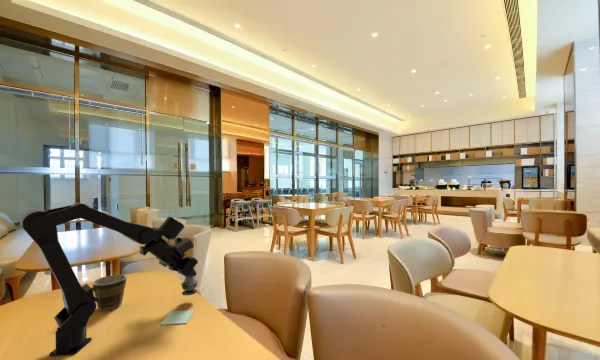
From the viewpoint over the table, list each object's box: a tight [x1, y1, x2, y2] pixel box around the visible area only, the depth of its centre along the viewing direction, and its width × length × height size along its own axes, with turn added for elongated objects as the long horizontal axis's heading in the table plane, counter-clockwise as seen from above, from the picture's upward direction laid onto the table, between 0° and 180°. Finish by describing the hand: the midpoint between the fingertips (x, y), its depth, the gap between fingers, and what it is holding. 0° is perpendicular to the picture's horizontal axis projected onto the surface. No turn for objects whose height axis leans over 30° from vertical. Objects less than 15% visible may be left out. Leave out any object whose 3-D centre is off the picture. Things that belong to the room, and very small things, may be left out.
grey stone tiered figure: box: [180, 275, 199, 296], centre depth 97 cm, size 6×6×12 cm
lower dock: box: [160, 309, 195, 326], centre depth 85 cm, size 8×8×1 cm
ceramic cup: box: [90, 274, 127, 312], centre depth 92 cm, size 13×10×10 cm
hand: (193, 273), depth 98 cm, fingers closed on grey stone tiered figure, 4 cm apart
